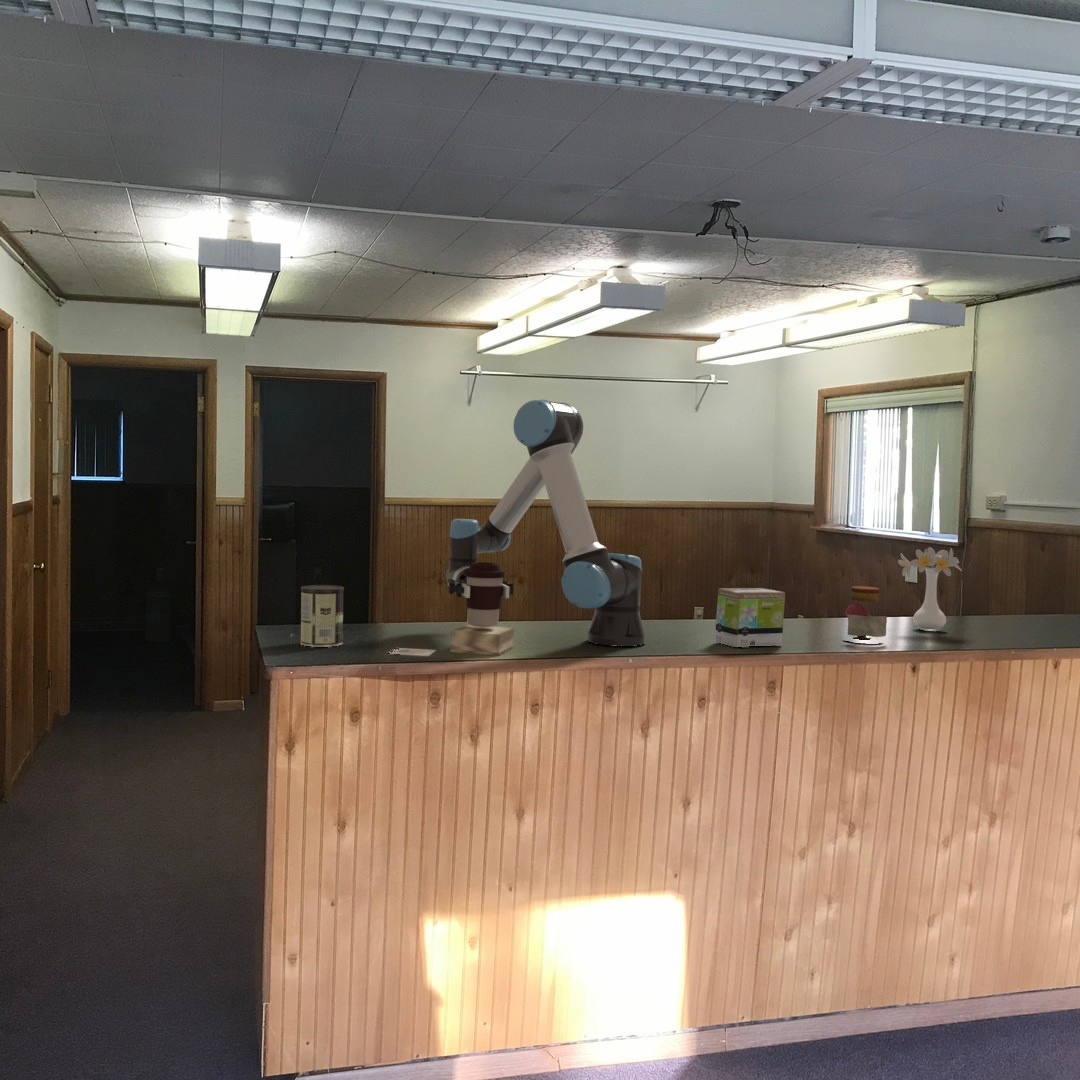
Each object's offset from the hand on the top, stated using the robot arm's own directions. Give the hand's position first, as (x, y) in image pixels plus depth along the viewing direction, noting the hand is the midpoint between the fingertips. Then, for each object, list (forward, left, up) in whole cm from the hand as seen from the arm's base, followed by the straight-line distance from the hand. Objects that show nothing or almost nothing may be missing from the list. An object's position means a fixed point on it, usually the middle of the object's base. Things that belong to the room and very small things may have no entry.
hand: (488, 592), depth 257 cm
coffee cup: (+2, -4, -9) cm, 10 cm away
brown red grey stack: (-88, -63, -15) cm, 109 cm away
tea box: (-59, -43, -15) cm, 74 cm away
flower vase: (-108, -96, -15) cm, 145 cm away
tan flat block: (+2, -4, -15) cm, 15 cm away
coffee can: (+40, +6, -15) cm, 43 cm away
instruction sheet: (+16, +7, -15) cm, 23 cm away
